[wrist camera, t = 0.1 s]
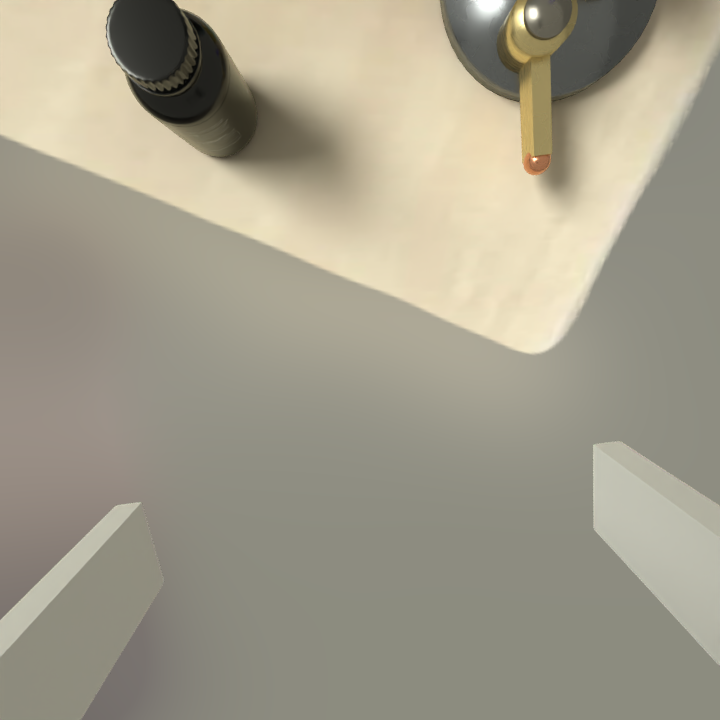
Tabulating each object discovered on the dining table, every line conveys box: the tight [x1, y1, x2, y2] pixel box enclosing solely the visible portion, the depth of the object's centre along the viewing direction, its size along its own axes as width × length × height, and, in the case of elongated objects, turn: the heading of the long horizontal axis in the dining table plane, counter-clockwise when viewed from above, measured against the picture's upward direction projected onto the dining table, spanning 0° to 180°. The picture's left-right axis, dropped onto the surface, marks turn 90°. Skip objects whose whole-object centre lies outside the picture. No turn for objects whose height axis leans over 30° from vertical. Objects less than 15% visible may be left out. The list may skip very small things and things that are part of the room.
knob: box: [497, 0, 578, 175], centre depth 30 cm, size 12×4×4 cm, turn 7°
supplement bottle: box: [106, 0, 257, 157], centre depth 29 cm, size 7×7×12 cm
